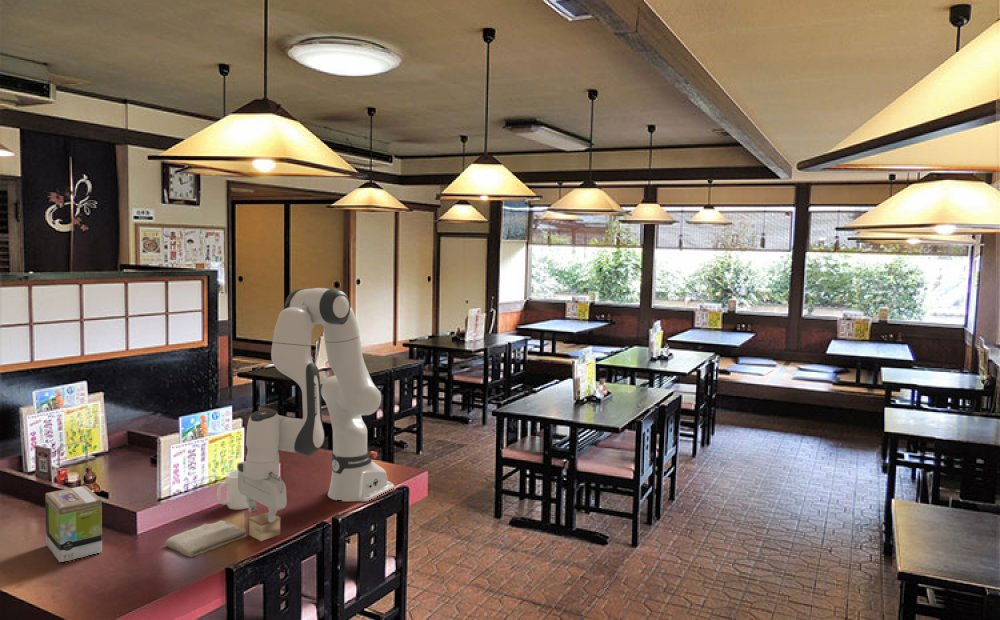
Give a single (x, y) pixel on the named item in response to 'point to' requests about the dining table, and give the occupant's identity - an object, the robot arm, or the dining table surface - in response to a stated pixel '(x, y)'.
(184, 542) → the washcloth
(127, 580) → the dining table surface
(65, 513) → the tea box
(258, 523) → the hinoki box
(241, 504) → the cup
